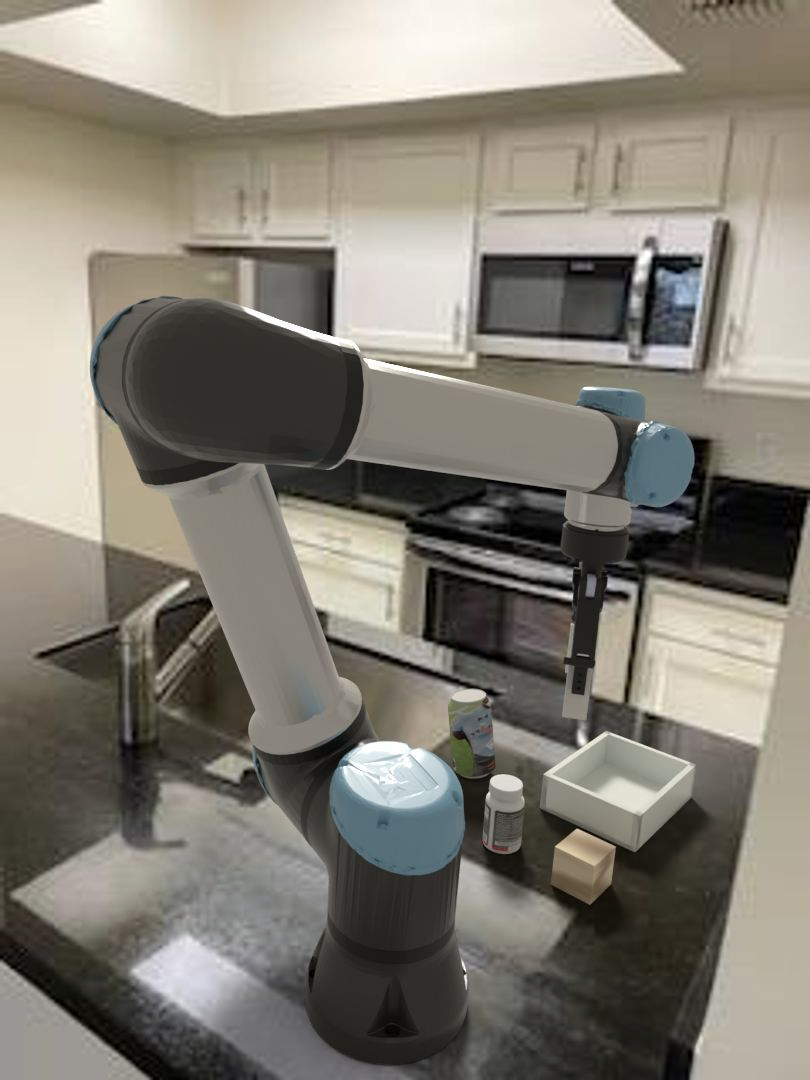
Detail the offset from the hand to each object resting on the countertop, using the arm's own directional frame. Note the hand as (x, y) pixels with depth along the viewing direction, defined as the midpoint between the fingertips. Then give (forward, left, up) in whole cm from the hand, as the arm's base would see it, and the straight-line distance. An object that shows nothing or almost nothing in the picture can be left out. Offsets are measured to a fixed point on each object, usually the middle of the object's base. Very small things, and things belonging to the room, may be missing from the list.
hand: (574, 694), depth 102 cm
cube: (-8, -7, -19) cm, 22 cm away
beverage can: (+3, +17, -19) cm, 26 cm away
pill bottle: (-8, +4, -19) cm, 21 cm away
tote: (+11, -2, -19) cm, 22 cm away
